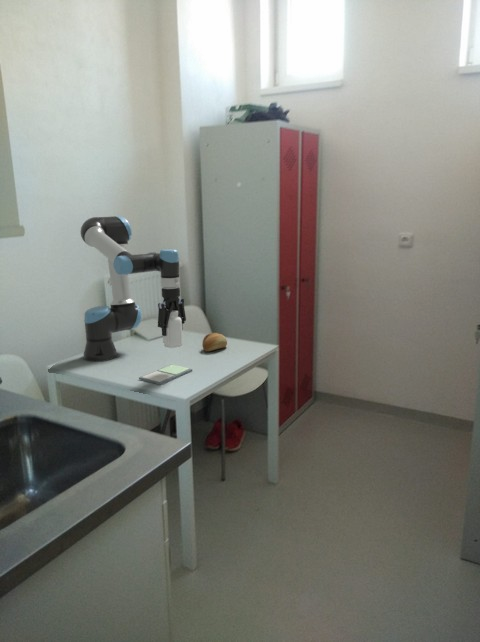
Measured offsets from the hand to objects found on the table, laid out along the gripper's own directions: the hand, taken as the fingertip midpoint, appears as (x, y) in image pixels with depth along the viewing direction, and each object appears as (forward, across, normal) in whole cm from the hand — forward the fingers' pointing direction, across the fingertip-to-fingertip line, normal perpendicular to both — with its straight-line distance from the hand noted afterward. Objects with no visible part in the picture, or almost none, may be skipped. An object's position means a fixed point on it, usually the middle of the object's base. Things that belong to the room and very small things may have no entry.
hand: (172, 340), depth 214 cm
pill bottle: (+2, 0, 0) cm, 2 cm away
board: (+14, -5, 0) cm, 15 cm away
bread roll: (+14, +37, +6) cm, 40 cm away
